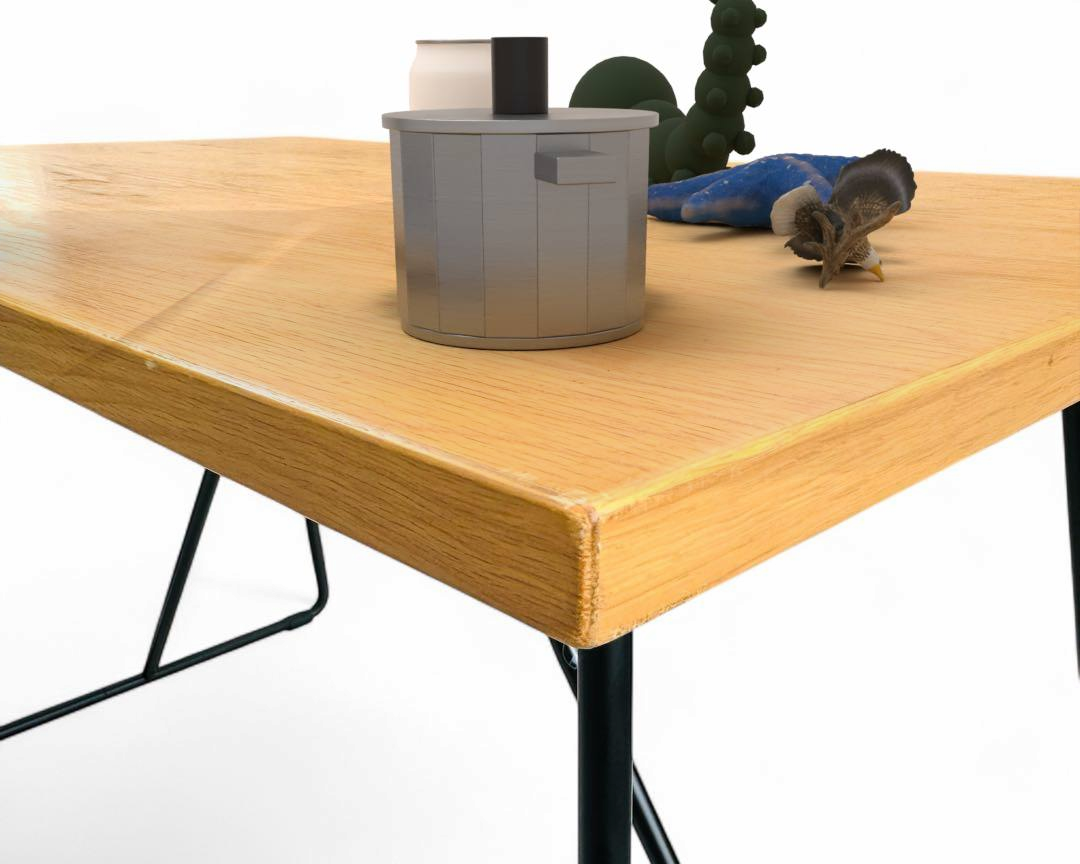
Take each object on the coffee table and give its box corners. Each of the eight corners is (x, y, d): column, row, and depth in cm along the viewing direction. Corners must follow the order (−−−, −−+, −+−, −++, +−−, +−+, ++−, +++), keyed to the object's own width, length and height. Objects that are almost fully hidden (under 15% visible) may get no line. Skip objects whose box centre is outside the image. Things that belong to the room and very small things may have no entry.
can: (526, 291, 62) (524, 38, 58) (403, 288, 63) (392, 39, 59) (544, 270, 68) (543, 40, 64) (431, 268, 69) (422, 41, 65)
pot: (450, 374, 46) (443, 140, 43) (367, 298, 61) (357, 119, 57) (712, 352, 49) (722, 133, 46) (574, 285, 64) (575, 114, 61)
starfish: (694, 204, 97) (696, 140, 95) (925, 220, 88) (933, 148, 86) (570, 232, 83) (570, 156, 81) (831, 254, 73) (838, 168, 71)
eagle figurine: (940, 272, 60) (946, 216, 67) (869, 148, 58) (883, 104, 65) (805, 342, 64) (824, 282, 71) (734, 228, 62) (762, 178, 69)
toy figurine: (776, 228, 96) (619, 174, 116) (808, -36, 88) (633, -46, 108) (676, 236, 92) (531, 178, 112) (699, -39, 84) (538, -49, 104)
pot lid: (418, 153, 45) (413, 35, 44) (359, 135, 56) (353, 39, 54) (705, 145, 49) (710, 34, 47) (599, 129, 59) (600, 38, 58)
